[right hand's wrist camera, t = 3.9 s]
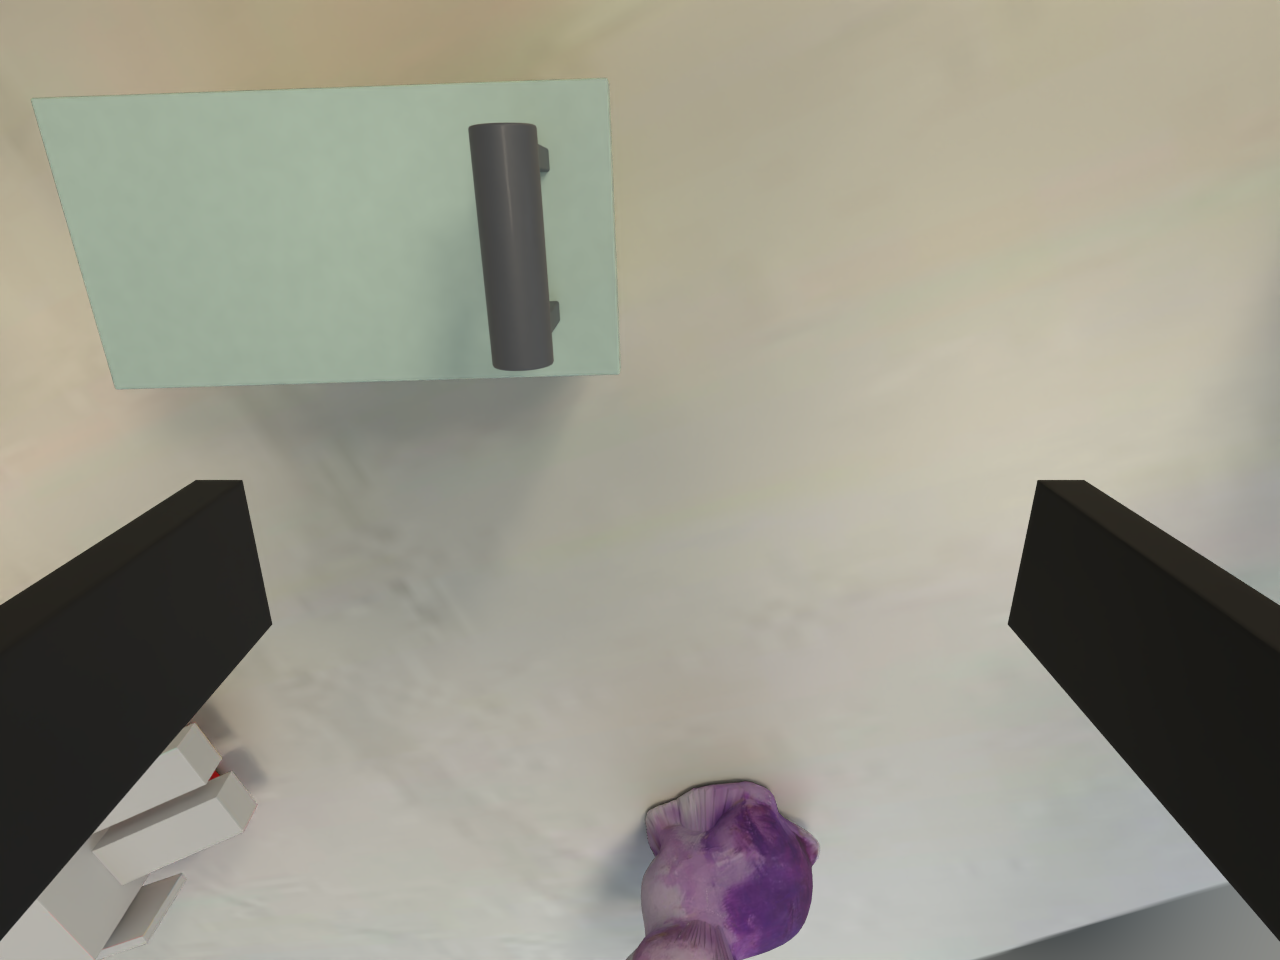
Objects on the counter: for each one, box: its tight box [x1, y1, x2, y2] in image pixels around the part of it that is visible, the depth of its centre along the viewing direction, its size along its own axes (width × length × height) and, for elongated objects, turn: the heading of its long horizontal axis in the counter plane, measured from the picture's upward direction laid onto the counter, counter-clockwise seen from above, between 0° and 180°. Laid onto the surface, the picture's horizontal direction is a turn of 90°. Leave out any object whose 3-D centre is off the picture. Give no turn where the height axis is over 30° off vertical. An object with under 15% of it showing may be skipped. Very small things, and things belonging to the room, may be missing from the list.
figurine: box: [626, 781, 820, 960], centre depth 41 cm, size 9×10×15 cm
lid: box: [31, 78, 621, 389], centre depth 21 cm, size 18×9×8 cm, turn 92°
